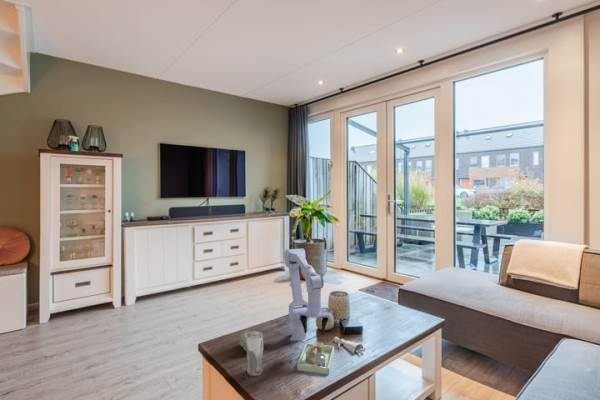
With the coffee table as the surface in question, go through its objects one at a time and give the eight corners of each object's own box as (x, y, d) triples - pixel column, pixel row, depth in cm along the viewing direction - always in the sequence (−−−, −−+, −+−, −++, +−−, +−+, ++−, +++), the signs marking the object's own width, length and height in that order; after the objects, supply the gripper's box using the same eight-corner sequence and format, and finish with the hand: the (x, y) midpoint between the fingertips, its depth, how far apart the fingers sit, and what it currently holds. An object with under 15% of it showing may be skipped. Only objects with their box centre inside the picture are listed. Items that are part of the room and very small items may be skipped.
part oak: (312, 357, 135) (312, 346, 135) (314, 352, 139) (314, 341, 139) (321, 358, 134) (321, 347, 134) (323, 354, 138) (323, 342, 138)
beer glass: (255, 364, 131) (255, 329, 130) (267, 370, 126) (267, 334, 126) (242, 372, 125) (242, 335, 125) (254, 378, 121) (254, 340, 120)
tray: (306, 349, 143) (306, 342, 143) (334, 352, 140) (334, 346, 140) (296, 371, 126) (296, 364, 126) (328, 376, 123) (328, 368, 123)
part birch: (305, 363, 131) (305, 351, 131) (307, 358, 135) (307, 346, 135) (315, 364, 130) (315, 352, 130) (316, 359, 134) (317, 347, 134)
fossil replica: (256, 340, 152) (236, 347, 147) (254, 323, 152) (234, 329, 147) (265, 350, 141) (244, 357, 137) (263, 331, 141) (242, 338, 137)
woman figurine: (354, 350, 135) (325, 337, 149) (354, 360, 134) (326, 347, 149) (371, 342, 142) (342, 330, 156) (372, 352, 142) (343, 340, 156)
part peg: (316, 364, 130) (316, 353, 129) (325, 366, 129) (325, 354, 129) (314, 370, 126) (314, 358, 126) (324, 371, 125) (324, 359, 125)
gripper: (296, 304, 136) (296, 335, 136) (329, 307, 132) (329, 339, 133) (300, 299, 142) (299, 328, 143) (331, 301, 139) (331, 331, 140)
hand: (314, 333), depth 138 cm, fingers open, 7 cm apart
